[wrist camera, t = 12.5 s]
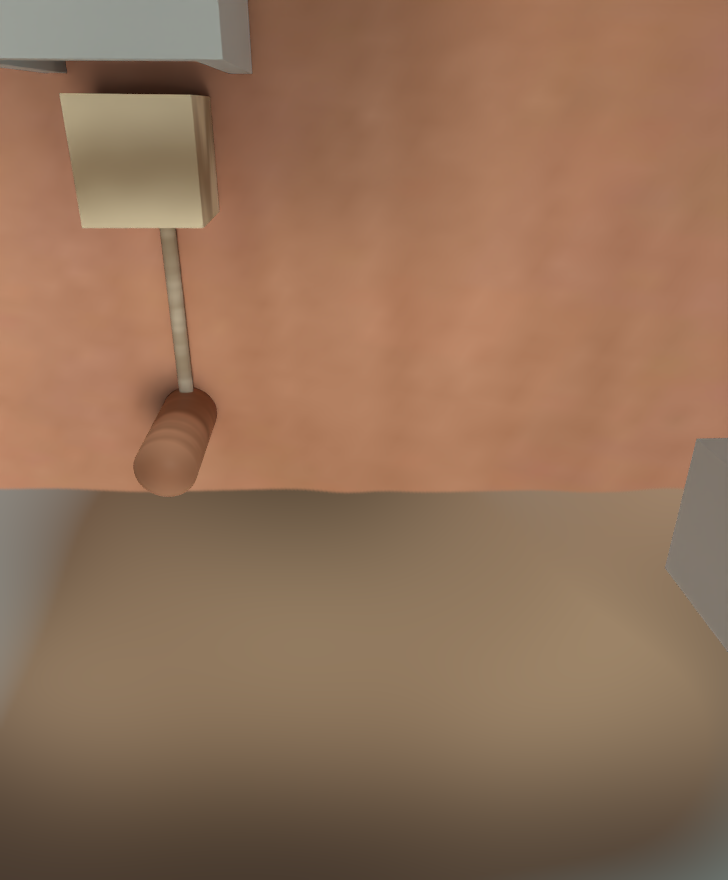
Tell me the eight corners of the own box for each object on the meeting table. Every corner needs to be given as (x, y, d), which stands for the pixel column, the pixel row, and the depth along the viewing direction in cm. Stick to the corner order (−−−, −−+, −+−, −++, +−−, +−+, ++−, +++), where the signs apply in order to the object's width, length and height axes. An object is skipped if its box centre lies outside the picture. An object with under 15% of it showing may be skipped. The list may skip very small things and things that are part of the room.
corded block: (98, 95, 36) (43, 92, 29) (210, 96, 37) (183, 93, 30) (148, 436, 46) (115, 497, 38) (237, 434, 46) (222, 495, 39)
